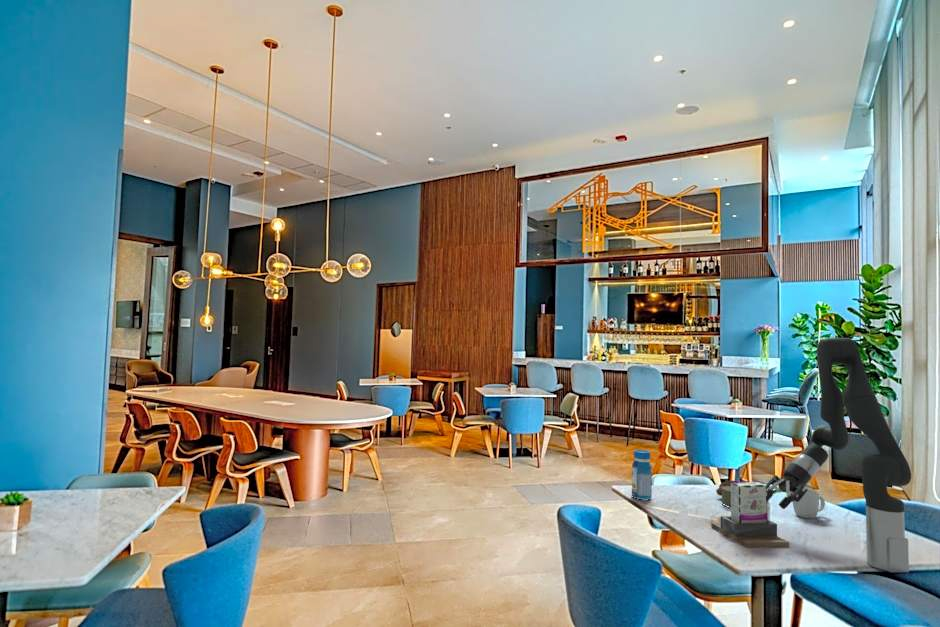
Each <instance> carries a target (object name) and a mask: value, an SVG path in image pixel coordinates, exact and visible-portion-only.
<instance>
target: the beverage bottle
mask: <svg viewBox="0 0 940 627" xmlns="http://www.w3.org/2000/svg"><path fill="white" fill-rule="evenodd" d="M633 458H634V461H633V462H632V465H631V467H632V470H631V497H632V496H633V497H634V498H637V499H636V500H638V499H642V500H641V501H649V500H648V499H650V500H652V498H653V496H652V488H653V487H652V486H653V484H652V482H653V479H652V477H653V472H652V469H653V466H652V464H651V462H650V461H649V460H651V452H650V451H649V450H644V449H635V450H634V451H633ZM633 497H632V498H633ZM634 498H633V499H634Z"/></svg>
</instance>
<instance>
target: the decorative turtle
mask: <svg viewBox="0 0 940 627" xmlns="http://www.w3.org/2000/svg"><path fill="white" fill-rule="evenodd" d="M743 482H748V481H746V480H740V481H739V482H738V480H737V481H736V480H726V481H723V482H721V483H720V484H719V486H718V488H716V490H715V492H716V494H717V495H718V496H721V497H722V489H721V487H722V486H731V484H730V483H743Z"/></svg>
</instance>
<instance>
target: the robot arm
mask: <svg viewBox="0 0 940 627" xmlns="http://www.w3.org/2000/svg"><path fill="white" fill-rule="evenodd" d="M816 357H817V358H816V360H817V367H818V368H817V369H818V376H819V378H818V379H819V383H820V392H821V393H820V413H819V414H820V415H819V416H820V418H821V420H823V421H824V422H826V423H827V424H828V425H826V424H821V425H819V426H817V427H815V428H814V430H813V431H812V434H811V436H810V439H809V441H808V443H807V446H806V447H805V448H804V449H803V450H802V452H800V453H799V454H798V455H797V456H796V457H795V458H794V459H793V460H792V461H791V463H790V464H789V465H788V466H787V467H786V468H785V470H784V471H783V476H782V477H779V476H778V475H774V476H773V477H772V478H771V479H770V480H769V481H768V482H767V483H766V484H765V485H767V503H768V502H769V501H770V499H771V498H773V496H774V495H775V494H777V493H779V494H780V493H786V496H784V497H783V499H782V500H780V502H779V504H778V506H779V507H780V508H781V510H782V509H783V510H785V509H786V508H787V507H788V506H789V505H790V504H791V503H793V501H796V502H799V501H800V499H801V498H802V497H803V496H804V494H805V493H806V492H807V491H808V489H809V488H807V487H806V485H807V484H808V483H809V482H810V481H811V480H812V479H813V478H814V476H815V475H816V474H817V472H818V471H819V470H820V468H821V467H822V466H823V465H824V463H826V461H827V460H828V458H829V453H828V452H827V451H826V450H825V449H824V448H823V447H824V446H826V447H828V448H830V449H832V450H833V449H834V450H836V451H842V450H844V449H845V448H846V447H847V446H848V445H849V442H850V436H849V432H848V428H847V423H846V420H845V411H846V414H847V417H848V419H849V420H850V421H851V422H852V424H853V425H855V427H857V429H859V430H860V431H861V432H862V433H863V434H864V435H865V436H866V437H867V438H868V439H869V440H870V441H871V442H872V443H873V445H874V446H875V448H876V449H877V451H878V453H869V454H866V455H865V456H864V457H863V458H862V461H861V479H862V480H861V481H862V491H863V495H864V499H865V522H866V523H865V524H866V525H865V526H866V530H865V532H866V534H865V535H866V536H865V537H866V562H867V564H868V565H869V566H871V567H873V568H876V569H880V570H884V571H886V572H889V573H909V572H910V563H909V562H910V561H909V559H910V557H909V553H910V552H909V539H908V538H906V534H905V532H906V531H905V530H906V529H905V527H906V526H905V504H904V502H903V500H901V499H899V498H897V497H894V496H891V495H890V494H889V493H888V487H905V486H907V485H909V484H910V482H911V479H912V472H911V467H910V465H909V463H908V462H909V461H907V459H906V457H905V455H904V453H903V451H902V450H901V448H900V445H898V443H897V440H896V439H895V437H894V435H893V433H892V431H891V428H890V427H889V425H888V424H889V423H887V420H886V418H885V416H884V413H883V410H882V407H881V406H880V403H879V400H878V399H877V396H876V394H875V392H874V390H873V387H872V384H871V383H870V380H869V377H868V375H867V373H866V372H867V371H866V370H865V365H864V362H863V359H862V356H861V352H860V350H859V347H858V344H857V343H856V341H854V339H852V338H850V337H826V338H825V337H824V338H822V339H820V340H819V342H818V344H817V348H816ZM833 365H844V366H845V368H846V371H847V376H848V379H847V382H846V385H845V388H844V391H842V389H841V388H840V387H839V385H838V383H837V382H836V380H835V378H834V375H833ZM797 494H798V497H796V496H797Z"/></svg>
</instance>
